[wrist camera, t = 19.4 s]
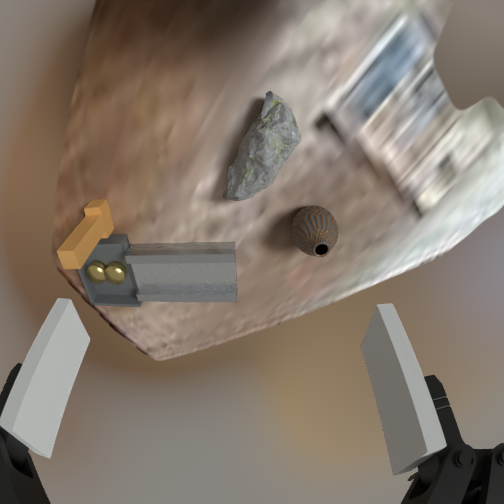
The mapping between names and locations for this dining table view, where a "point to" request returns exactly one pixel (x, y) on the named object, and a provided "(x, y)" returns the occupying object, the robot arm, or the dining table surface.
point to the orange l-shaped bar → (86, 235)
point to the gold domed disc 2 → (115, 272)
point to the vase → (314, 231)
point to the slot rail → (184, 271)
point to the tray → (106, 291)
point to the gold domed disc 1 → (96, 272)
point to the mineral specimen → (263, 150)
